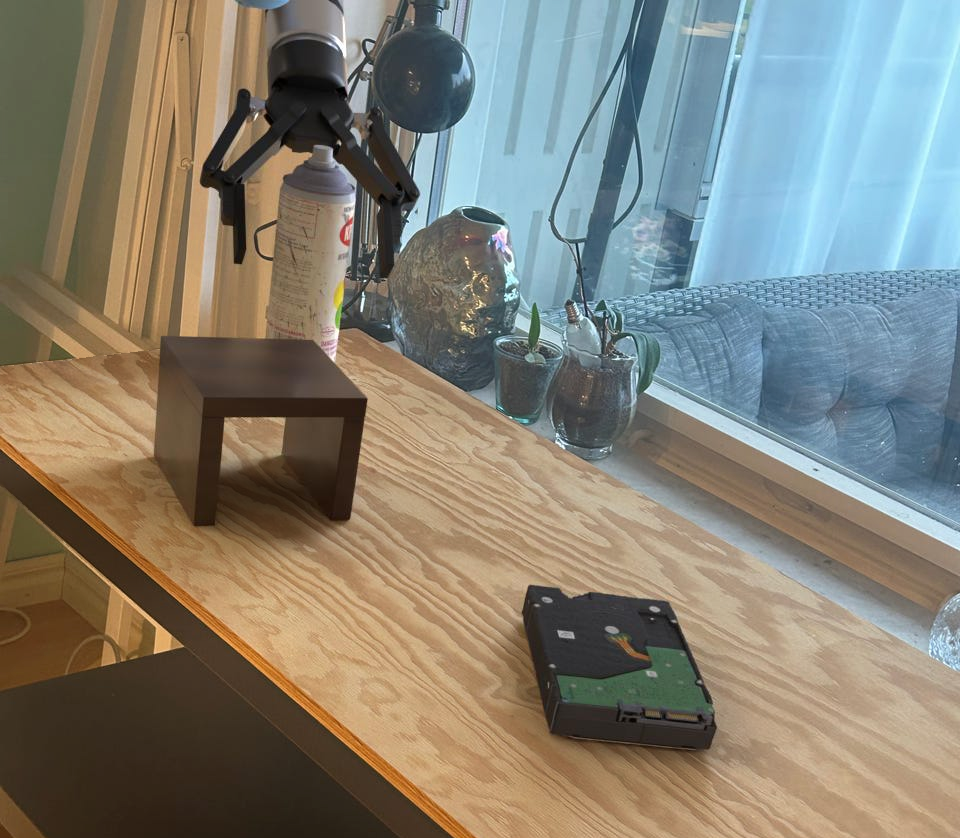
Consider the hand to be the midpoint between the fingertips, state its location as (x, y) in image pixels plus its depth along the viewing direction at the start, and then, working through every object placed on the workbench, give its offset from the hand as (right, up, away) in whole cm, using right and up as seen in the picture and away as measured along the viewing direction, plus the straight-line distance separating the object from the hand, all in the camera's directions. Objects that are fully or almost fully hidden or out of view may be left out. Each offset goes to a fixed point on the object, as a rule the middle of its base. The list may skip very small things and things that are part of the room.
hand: (314, 264), depth 121 cm
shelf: (-3, -23, -20) cm, 30 cm away
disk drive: (+23, -37, -35) cm, 56 cm away
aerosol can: (-2, -8, +6) cm, 10 cm away
